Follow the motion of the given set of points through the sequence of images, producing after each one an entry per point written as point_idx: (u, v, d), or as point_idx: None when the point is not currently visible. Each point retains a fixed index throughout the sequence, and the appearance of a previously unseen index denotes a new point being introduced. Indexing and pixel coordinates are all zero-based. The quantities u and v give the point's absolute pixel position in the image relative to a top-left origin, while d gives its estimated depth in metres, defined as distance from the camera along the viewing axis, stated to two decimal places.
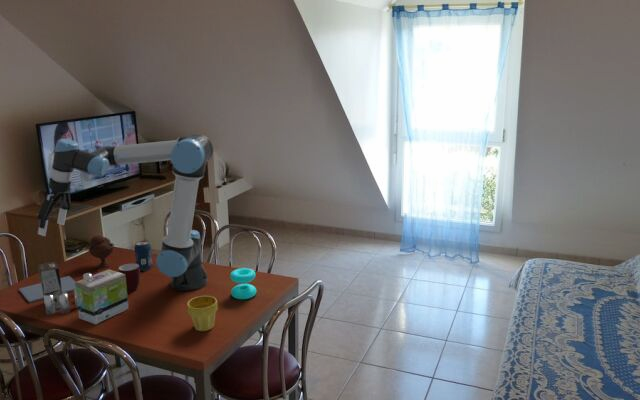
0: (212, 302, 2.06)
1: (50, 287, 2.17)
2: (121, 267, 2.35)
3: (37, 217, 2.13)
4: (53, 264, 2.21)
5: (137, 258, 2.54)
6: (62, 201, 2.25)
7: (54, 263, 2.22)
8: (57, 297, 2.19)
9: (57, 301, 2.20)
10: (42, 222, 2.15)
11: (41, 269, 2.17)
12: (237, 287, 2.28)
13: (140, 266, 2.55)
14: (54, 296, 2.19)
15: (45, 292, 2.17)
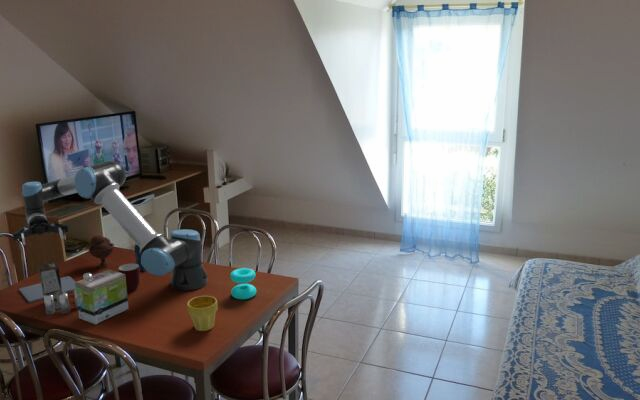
0: (212, 302, 2.06)
1: (50, 287, 2.17)
2: (121, 267, 2.35)
3: (13, 239, 2.27)
4: (53, 264, 2.21)
5: (137, 258, 2.54)
6: (50, 227, 2.36)
7: (54, 263, 2.22)
8: (57, 297, 2.19)
9: (57, 301, 2.20)
10: (18, 237, 2.26)
11: (41, 269, 2.17)
12: (237, 287, 2.28)
13: (140, 266, 2.55)
14: (54, 296, 2.19)
15: (45, 292, 2.17)
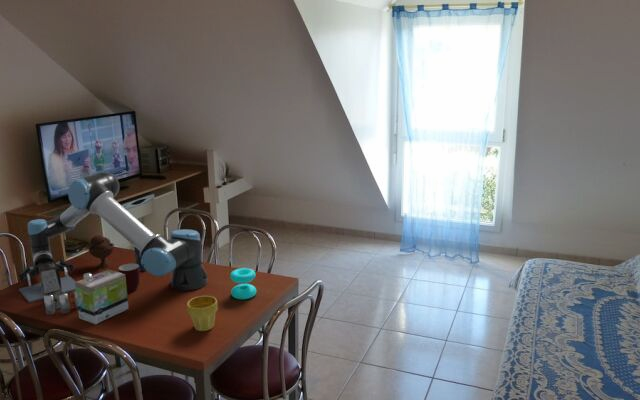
0: (212, 302, 2.06)
1: (50, 287, 2.17)
2: (121, 267, 2.35)
3: (19, 279, 2.29)
4: (53, 264, 2.21)
5: (137, 258, 2.54)
6: None
7: (54, 263, 2.22)
8: (57, 297, 2.19)
9: (57, 301, 2.20)
10: (24, 277, 2.28)
11: (41, 269, 2.17)
12: (237, 287, 2.28)
13: (140, 266, 2.55)
14: (54, 296, 2.19)
15: (45, 292, 2.17)
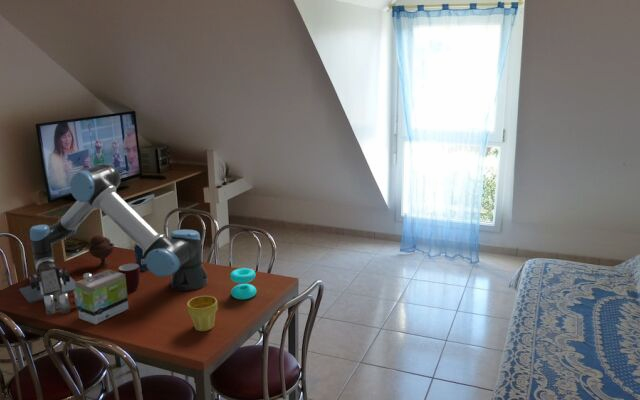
0: (212, 302, 2.06)
1: (50, 287, 2.17)
2: (121, 267, 2.35)
3: (31, 288, 2.21)
4: (53, 264, 2.21)
5: (137, 258, 2.54)
6: None
7: (54, 263, 2.22)
8: (57, 297, 2.19)
9: (57, 301, 2.20)
10: (36, 286, 2.20)
11: (41, 269, 2.17)
12: (237, 287, 2.28)
13: (140, 266, 2.55)
14: (54, 296, 2.19)
15: (45, 292, 2.17)
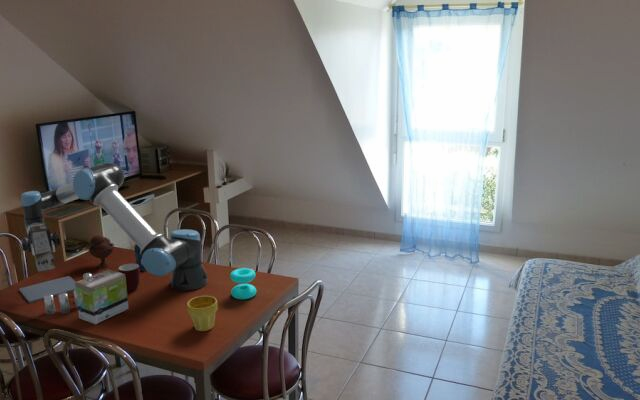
0: (212, 302, 2.06)
1: (41, 248, 2.23)
2: (121, 267, 2.35)
3: None
4: (45, 227, 2.26)
5: (137, 258, 2.54)
6: None
7: (45, 226, 2.28)
8: (48, 258, 2.25)
9: (48, 262, 2.25)
10: (27, 247, 2.25)
11: (32, 230, 2.22)
12: (237, 287, 2.28)
13: (140, 266, 2.55)
14: (45, 257, 2.24)
15: (36, 253, 2.22)
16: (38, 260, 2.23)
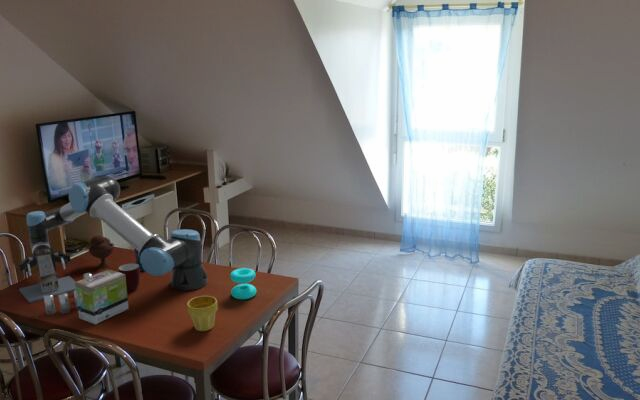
0: (212, 302, 2.06)
1: (45, 271, 2.31)
2: (121, 267, 2.35)
3: None
4: (49, 250, 2.34)
5: (137, 258, 2.54)
6: None
7: (50, 248, 2.36)
8: (52, 280, 2.33)
9: (52, 284, 2.33)
10: (24, 267, 2.32)
11: (37, 254, 2.30)
12: (237, 287, 2.28)
13: (140, 266, 2.55)
14: (49, 279, 2.32)
15: (41, 275, 2.30)
16: (43, 282, 2.31)
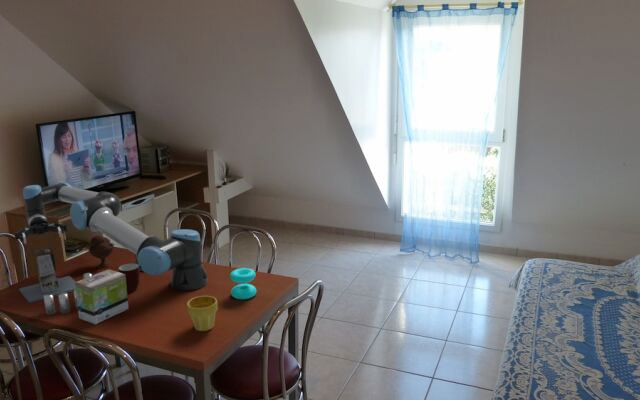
0: (212, 302, 2.06)
1: (45, 271, 2.31)
2: (121, 267, 2.35)
3: (15, 238, 2.41)
4: (49, 250, 2.34)
5: None
6: (49, 227, 2.49)
7: (49, 249, 2.35)
8: (52, 280, 2.33)
9: (52, 284, 2.33)
10: (19, 236, 2.39)
11: (37, 254, 2.30)
12: (237, 287, 2.28)
13: (140, 266, 2.55)
14: (49, 279, 2.32)
15: (41, 276, 2.30)
16: (42, 282, 2.31)
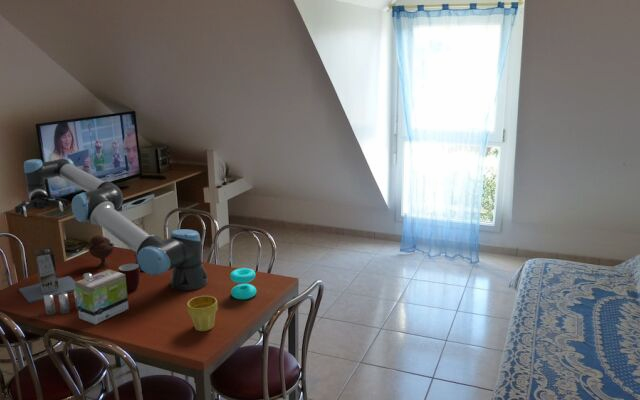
0: (212, 302, 2.06)
1: (45, 271, 2.31)
2: (121, 267, 2.35)
3: None
4: (49, 250, 2.34)
5: None
6: (50, 202, 2.46)
7: (49, 249, 2.35)
8: (52, 280, 2.33)
9: (52, 284, 2.33)
10: (20, 209, 2.36)
11: (37, 254, 2.30)
12: (237, 287, 2.28)
13: None
14: (49, 279, 2.32)
15: (41, 276, 2.30)
16: (42, 282, 2.31)
